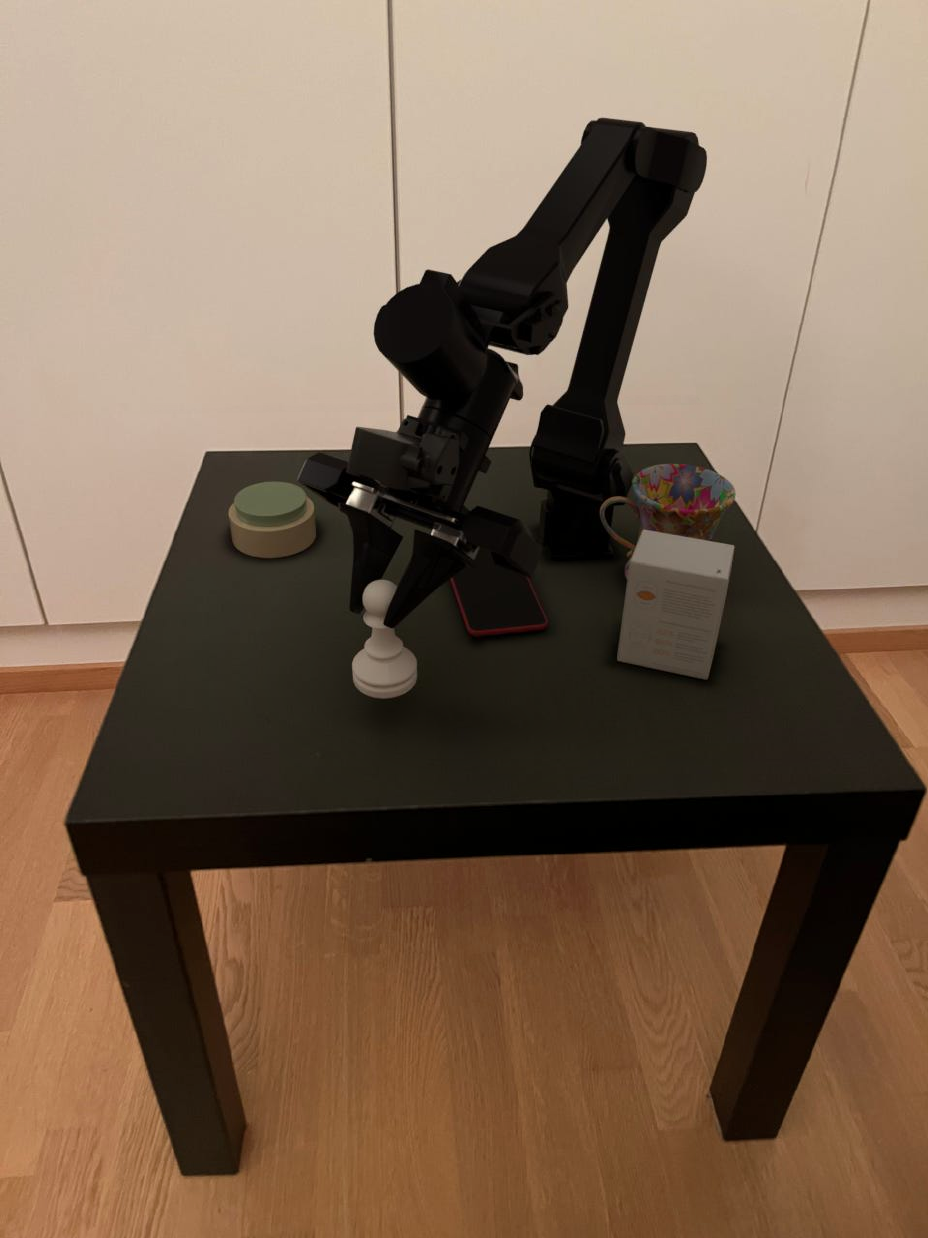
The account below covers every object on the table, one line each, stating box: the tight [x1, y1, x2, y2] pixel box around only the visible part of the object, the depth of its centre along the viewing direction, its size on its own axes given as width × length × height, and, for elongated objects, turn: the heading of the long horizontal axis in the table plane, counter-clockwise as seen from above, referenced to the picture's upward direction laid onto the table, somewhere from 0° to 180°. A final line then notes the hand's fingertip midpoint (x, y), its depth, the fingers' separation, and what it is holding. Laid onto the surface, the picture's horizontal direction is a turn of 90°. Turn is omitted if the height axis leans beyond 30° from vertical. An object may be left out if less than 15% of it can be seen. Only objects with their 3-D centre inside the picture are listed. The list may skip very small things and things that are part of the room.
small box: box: [616, 530, 735, 681], centre depth 80 cm, size 8×6×10 cm
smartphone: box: [449, 547, 548, 638], centre depth 91 cm, size 7×1×15 cm
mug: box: [600, 463, 736, 581], centre depth 90 cm, size 12×9×11 cm
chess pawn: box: [351, 579, 418, 700], centre depth 71 cm, size 5×5×9 cm
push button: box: [228, 481, 317, 559], centre depth 97 cm, size 9×9×4 cm
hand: (370, 619), depth 69 cm, fingers closed on chess pawn, 3 cm apart
